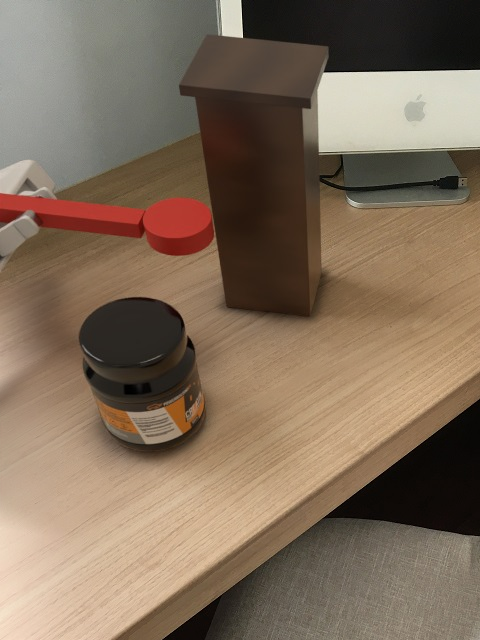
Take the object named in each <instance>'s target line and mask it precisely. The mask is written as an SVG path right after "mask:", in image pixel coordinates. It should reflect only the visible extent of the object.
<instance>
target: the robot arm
mask: <svg viewBox="0 0 480 640" xmlns="http://www.w3.org/2000/svg"><path fill="white" fill-rule="evenodd" d="M55 190H56V183H55V182H54V181H53V180H52V178H51V177H50V176H49V174H48V173H47V172H46V171H45V170H44V169H43V167H41V166H40V164H39V163H38V162H37V161H35V160H33V159H24V160H23V159H22V160H20V161H17V162H16V163H13V164H10V165H8V166H6V167H3V168H1V169H0V193H4V194H13V195H22V196H30V197H39V198H48V199H57V200H58V198H57V196H56V195H55V194H54V191H55ZM42 224H43V221H42V220H41V219H40V218H39V217H37V215H36V213H35V212H34V211H32V210H27V211H26V212H24V213H21V214H19V215H18V216H17V218H16V219H15V220H14V221H12V222H10V223H3V222H0V274H2V271H3V270H4V269H5V267H6V265H7V264H8V262H9V260H10V259H11V258H12V256H13V255H14V253H15V251H16V250H17V249H18V247H20V246H21V245H22V244H23V243H25V241H27V239H30V238H32V237H33V236H36V235H37V234H39V231H40V230H41V228H42V227H41V226H42Z"/></svg>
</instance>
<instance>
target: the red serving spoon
mask: <svg viewBox="0 0 480 640" xmlns="http://www.w3.org/2000/svg"><path fill="white" fill-rule="evenodd" d="M27 210H32V211H34V212H35V213H36V215H37V217H39V218H40V219H41V220H42V221H43V224H42V226H41V228H47V229H55V230H63V231H64V230H65V231H73V232H81V233H91V234H99V235H108V236H116V237H124V238H131V239H132V238H133V239H142V238H143V237H144V234H145V238H146V241H147V243H148V245H149V246H150V248H151V249H152V250H154V251H156V252H157V253H160V254H163V255H166V256H173V257H184V256H190V255H194V254H197V253H199V252H202V251H203V250H204V249H206V248H207V247H209V246H210V245H211V243H212V242H213V240H214V237H215V228H214V221H213V214H212V210H211V209H210V208H209V207H208V206H207V204H205V203H203V202H202V201H200V200H197V199H193V198H189V197H170V198H166V199H161V200H160V201H158V202H155V203H154V204H152V205H150V206H149V207H148V208H147V209H143V208H136V207H135V208H133V207H126V206H125V207H124V206H116V205H110V204H109V205H108V204H99V203H93V202H91V203H90V202H83V201H82V202H81V201H72V200H64V199H58V198H57V199H48V198H39V197H30V196H22V195H13V194H4V193H0V222H3V223H10V222H12V221H14V220H15V219H16V218H17V216H18V215H19V214H21V213H24V212H26V211H27Z"/></svg>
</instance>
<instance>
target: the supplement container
mask: <svg viewBox="0 0 480 640" xmlns="http://www.w3.org/2000/svg"><path fill="white" fill-rule="evenodd" d="M78 344H79V347H80V350H81V353H82V356H83V357H82V371H83V375H84V377H85V380H86V383H88V385H89V388H90V390H91V392H92V396H93V398H94V401H95V403H96V406H97V409H98V411H99V414H100V417H101V421H102V424H103V427H104V429H105V431H106V432H107V434H108V435H109V436H110V438H112V439H113V440H114V441H115V442H116V443H118V444H120V445H121V446H123V447H125V448H128V449H131V450H134V451H139V452H160V451H165V450H169V449H171V448H174V447H177V446H179V445H181V444H183V443H185V442H186V441H187V440H189V439H190V438H192V437H193V436H194V434H196V432H197V431H198V430H199V429H200V427H201V426H202V423H203V422H204V420H205V417H206V410H207V403H206V397H205V394H204V391H203V386H202V382H201V377H200V373H199V368H198V362H197V357H198V356H197V351H196V347H195V344H194V342H193V340H192V338H191V337H190V336H189V335H188V333H187V329H186V325H185V321H184V318H183V316H182V314H181V313H180V312H179V311H178V310H177V308H176V307H174V306H172V305H171V304H169V303H168V302H166V301H164V300H160V299H157V298H154V297H147V296H128V297H124V298H118V299H115V300H112V301H109V302H107V303H105V304H102V305H101V306H99V307H97V308H96V309H94V310H93V311H92V312H91V313H89V314H88V315H87V317H86V318H85V319H84V321H83V322H82V324H81V326H80V328H79V331H78Z"/></svg>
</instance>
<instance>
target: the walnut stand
mask: <svg viewBox="0 0 480 640" xmlns="http://www.w3.org/2000/svg"><path fill="white" fill-rule="evenodd" d="M329 50H330V49H329V46H327V45H317V44H308V43H297V42H289V41H288V42H286V41H279V40H270V39H269V40H268V39H258V38H248V37H240V36H239V37H238V36H237V37H236V36H229V35H228V36H227V35H218V34H208V33H207V34H205V36H204V37H203V40H202V41H201V43H200V45H199V47H198V48H197V50H196V52H195V54H194V56H193V58H192V60H191V62H190V63H189V65H188V67H187V68H186V70H185V73H184V74H183V76H182V78H181V80H180V82H179V84H178V89H179V95H180V97H181V96H182V97H190V98H194V101H195V107H196V114H197V120H198V121H197V122H198V126H199V127H198V128H199V133H200V141H201V147H202V154H203V160H204V167H205V173H206V174H205V175H206V181H207V187H208V194H209V200H210V206H211V214H212V221H213V228H214V235H215V240H216V246H217V247H216V248H217V254H218V261H219V266H220V267H219V268H220V273H221V274H220V275H221V280H222V287H223V294H224V300H225V307H227V308H234V309H235V308H236V309H244V310H251V311H261V312H271V313H279V314H287V315H288V314H289V315H297V316H304V317H311V316H312V311H313V308H314V304H315V301H316V297H317V292H318V289H319V285H320V281H321V278H322V269H323V268H322V229H321V228H322V227H321V187H320V186H321V185H320V183H321V182H320V180H321V179H320V146H319V145H320V143H319V141H320V140H319V137H320V136H319V135H320V134H319V99H318V96H319V95H318V92H319V91H318V89H319V88H320V84H321V81H322V78H323V74H324V73H325V69H326V66H327V64H328V60H329V58H330V55H329V54H330V53H329V52H330V51H329Z"/></svg>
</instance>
